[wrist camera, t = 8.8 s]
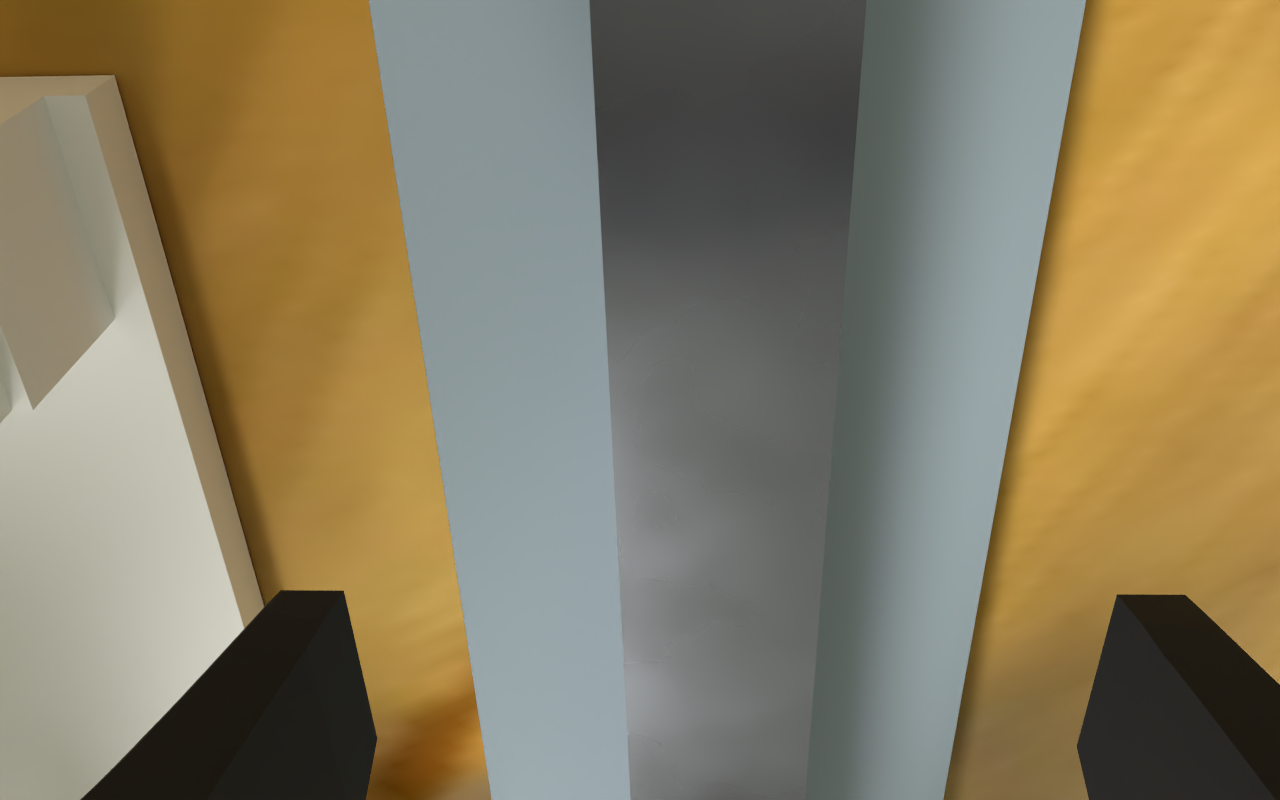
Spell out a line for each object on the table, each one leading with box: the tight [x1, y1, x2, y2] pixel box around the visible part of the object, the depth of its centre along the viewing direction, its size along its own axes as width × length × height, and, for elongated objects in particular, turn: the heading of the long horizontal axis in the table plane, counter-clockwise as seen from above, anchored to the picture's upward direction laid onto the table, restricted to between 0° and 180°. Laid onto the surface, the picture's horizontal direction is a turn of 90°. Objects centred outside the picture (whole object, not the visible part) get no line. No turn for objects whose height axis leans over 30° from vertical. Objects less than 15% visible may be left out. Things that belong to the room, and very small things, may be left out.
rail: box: [589, 0, 867, 800], centre depth 14 cm, size 2×22×2 cm, turn 2°
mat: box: [369, 0, 1086, 800], centre depth 16 cm, size 8×25×1 cm, turn 2°
